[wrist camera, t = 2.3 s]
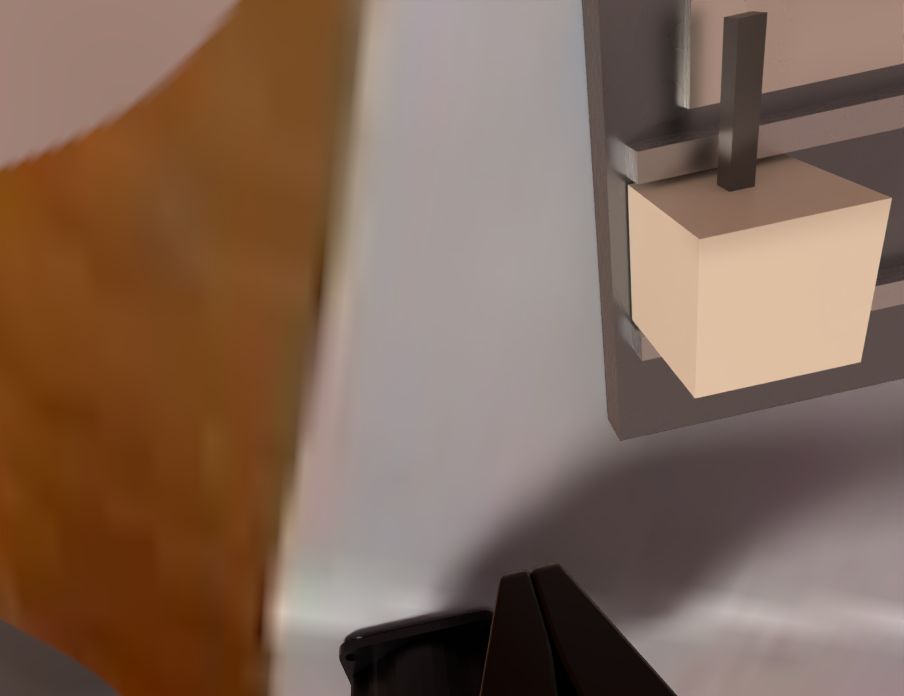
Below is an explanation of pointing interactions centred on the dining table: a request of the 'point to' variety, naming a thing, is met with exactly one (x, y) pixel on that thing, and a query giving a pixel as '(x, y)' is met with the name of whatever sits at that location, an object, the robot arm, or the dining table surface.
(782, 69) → the bench gauge
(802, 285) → the cube with stick handle
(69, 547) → the dining table surface
